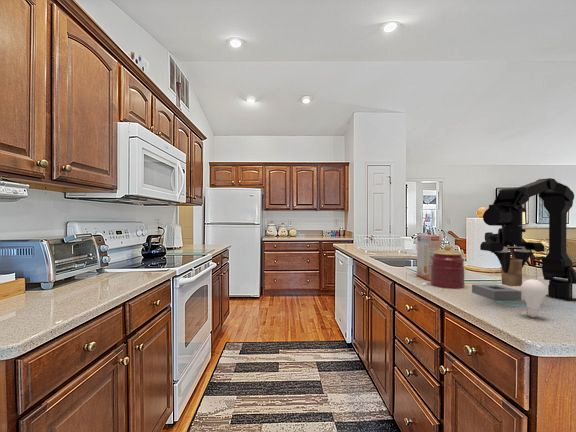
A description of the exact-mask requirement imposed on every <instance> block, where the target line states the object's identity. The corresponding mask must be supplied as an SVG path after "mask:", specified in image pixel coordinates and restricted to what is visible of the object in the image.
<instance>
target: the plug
mask: <svg viewBox="0 0 576 432" xmlns="http://www.w3.org/2000/svg"><path fill="white" fill-rule="evenodd" d="M500 266H501V265H500ZM522 283H523V268H522V260H521V259H515V257H514V258H513V257H510V262H509V268H508V272H507V273H504V271H503V269H502V266H501V285H503V286H504V285H505V286H506V287H508V286H509V287H521V285H522Z"/></svg>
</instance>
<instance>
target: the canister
mask: <svg viewBox="0 0 576 432" xmlns="http://www.w3.org/2000/svg"><path fill="white" fill-rule="evenodd" d="M433 253H434V256H432V257H431V259H432V265H431V281H430V285H431V286H433V287H436V288H442V289H453V290H455V289H456V290H457V289H464V288H465V285H466V284H465V269H466V268H465V265H464V262H465V260H466V259H465V258H463V253H462V252H461V251H460V250H457V249H456V250H455V249H452V246H451V245H449V244H445V245H444V246H443V249H442V248H441V249H438V250H436V251H434V252H433Z"/></svg>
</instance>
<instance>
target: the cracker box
mask: <svg viewBox="0 0 576 432" xmlns="http://www.w3.org/2000/svg"><path fill="white" fill-rule="evenodd" d="M416 238H417V243H416V245H417V247H416V250H417V251H416V252H417V253H416V276H417V277H418V278H421V279H423V280H426V281H430V282H431V265H432V259H431V257H432V256H434V253H433V252H434V251H436V250H438V249H442V248H441V245H442V243H441V242H442V236H441V235H435V234H423V233H422V234H417V237H416Z"/></svg>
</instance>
